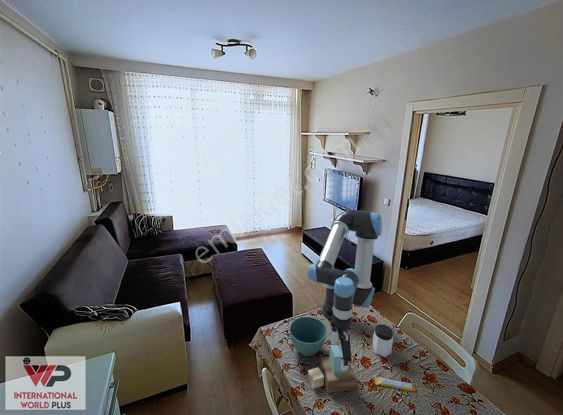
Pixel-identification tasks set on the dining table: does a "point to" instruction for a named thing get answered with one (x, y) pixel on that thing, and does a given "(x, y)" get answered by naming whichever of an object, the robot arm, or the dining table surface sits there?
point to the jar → (382, 340)
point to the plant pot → (308, 335)
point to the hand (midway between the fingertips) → (339, 355)
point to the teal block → (336, 359)
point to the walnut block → (337, 377)
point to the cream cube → (315, 378)
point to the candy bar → (394, 384)
